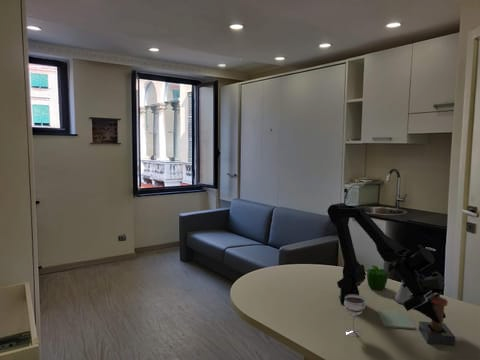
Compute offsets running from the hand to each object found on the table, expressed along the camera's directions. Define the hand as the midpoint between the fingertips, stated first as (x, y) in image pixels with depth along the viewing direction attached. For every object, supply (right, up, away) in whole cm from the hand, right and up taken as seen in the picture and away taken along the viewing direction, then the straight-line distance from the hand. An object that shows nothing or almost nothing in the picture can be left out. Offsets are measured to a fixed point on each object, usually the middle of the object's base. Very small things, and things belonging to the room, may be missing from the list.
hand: (441, 320), depth 116 cm
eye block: (-1, -6, +2) cm, 7 cm away
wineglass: (-27, -6, +4) cm, 28 cm away
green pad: (-10, -5, +12) cm, 16 cm away
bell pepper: (-6, -2, +39) cm, 40 cm away
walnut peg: (-1, -6, +2) cm, 7 cm away
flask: (0, -3, +27) cm, 28 cm away
